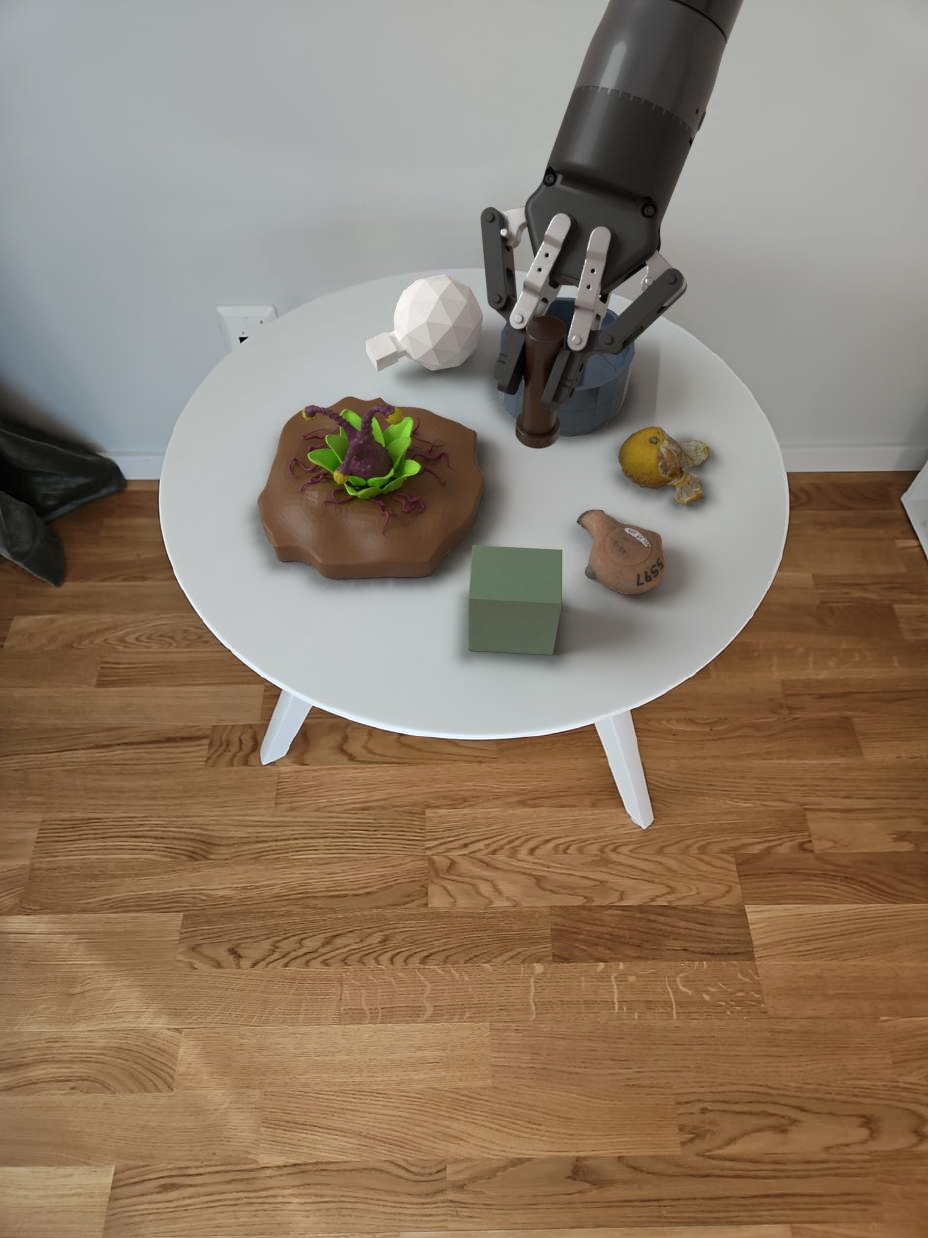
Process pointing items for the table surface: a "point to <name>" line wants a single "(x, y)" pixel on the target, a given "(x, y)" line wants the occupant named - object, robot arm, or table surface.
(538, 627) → the stand
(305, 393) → the table surface
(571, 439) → the table surface
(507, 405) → the bowl
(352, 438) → the plant
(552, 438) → the brown cylindrical peg
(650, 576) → the oil lamp
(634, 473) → the fruit
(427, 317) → the perfume bottle
